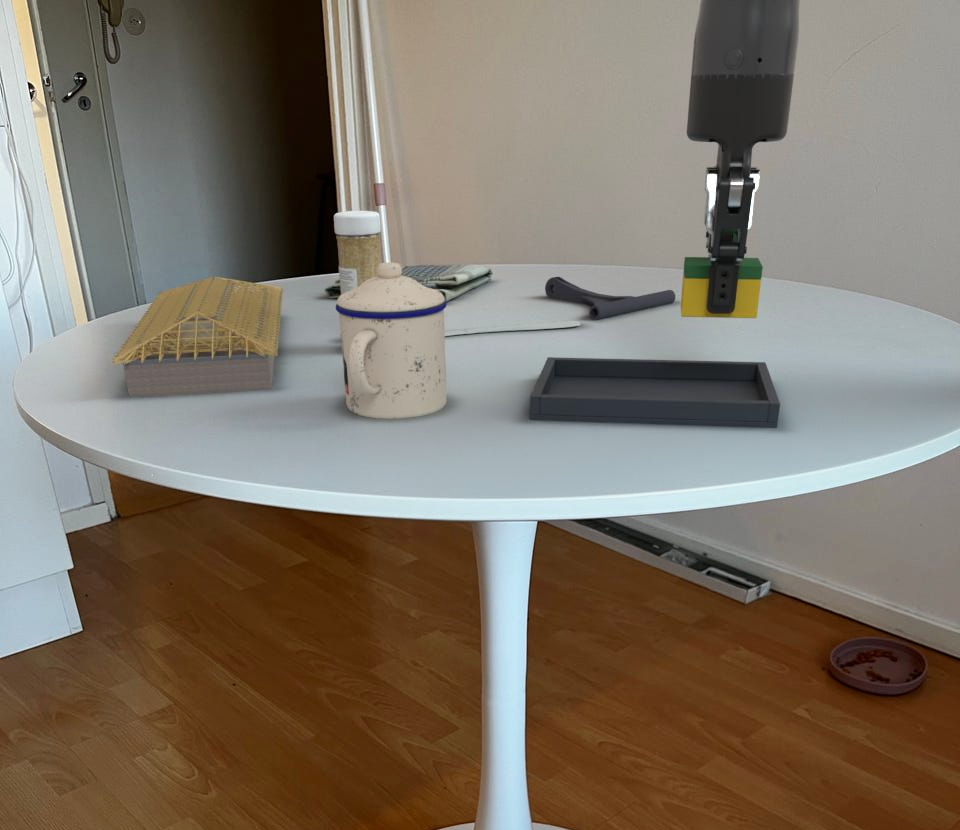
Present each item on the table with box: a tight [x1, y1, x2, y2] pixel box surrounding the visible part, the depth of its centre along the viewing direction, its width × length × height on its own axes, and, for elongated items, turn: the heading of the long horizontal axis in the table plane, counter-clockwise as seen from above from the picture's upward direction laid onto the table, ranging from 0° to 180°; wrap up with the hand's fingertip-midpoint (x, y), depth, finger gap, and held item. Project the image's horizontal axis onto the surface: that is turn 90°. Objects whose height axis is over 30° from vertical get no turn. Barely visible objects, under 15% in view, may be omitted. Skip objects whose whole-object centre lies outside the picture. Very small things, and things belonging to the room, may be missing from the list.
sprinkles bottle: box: [333, 210, 382, 295], centre depth 102 cm, size 5×5×14 cm
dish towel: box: [324, 263, 493, 302], centre depth 136 cm, size 19×18×3 cm
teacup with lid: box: [335, 262, 448, 420], centre depth 83 cm, size 12×9×12 cm
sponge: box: [680, 256, 764, 319], centre depth 83 cm, size 6×4×4 cm
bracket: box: [544, 276, 676, 321], centre depth 125 cm, size 14×15×3 cm
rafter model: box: [109, 276, 284, 398], centre depth 104 cm, size 35×14×6 cm, turn 9°
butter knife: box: [444, 320, 581, 337], centre depth 111 cm, size 1×27×3 cm
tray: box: [529, 356, 781, 429], centre depth 86 cm, size 20×14×2 cm
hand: (718, 305), depth 83 cm, fingers closed on sponge, 4 cm apart
